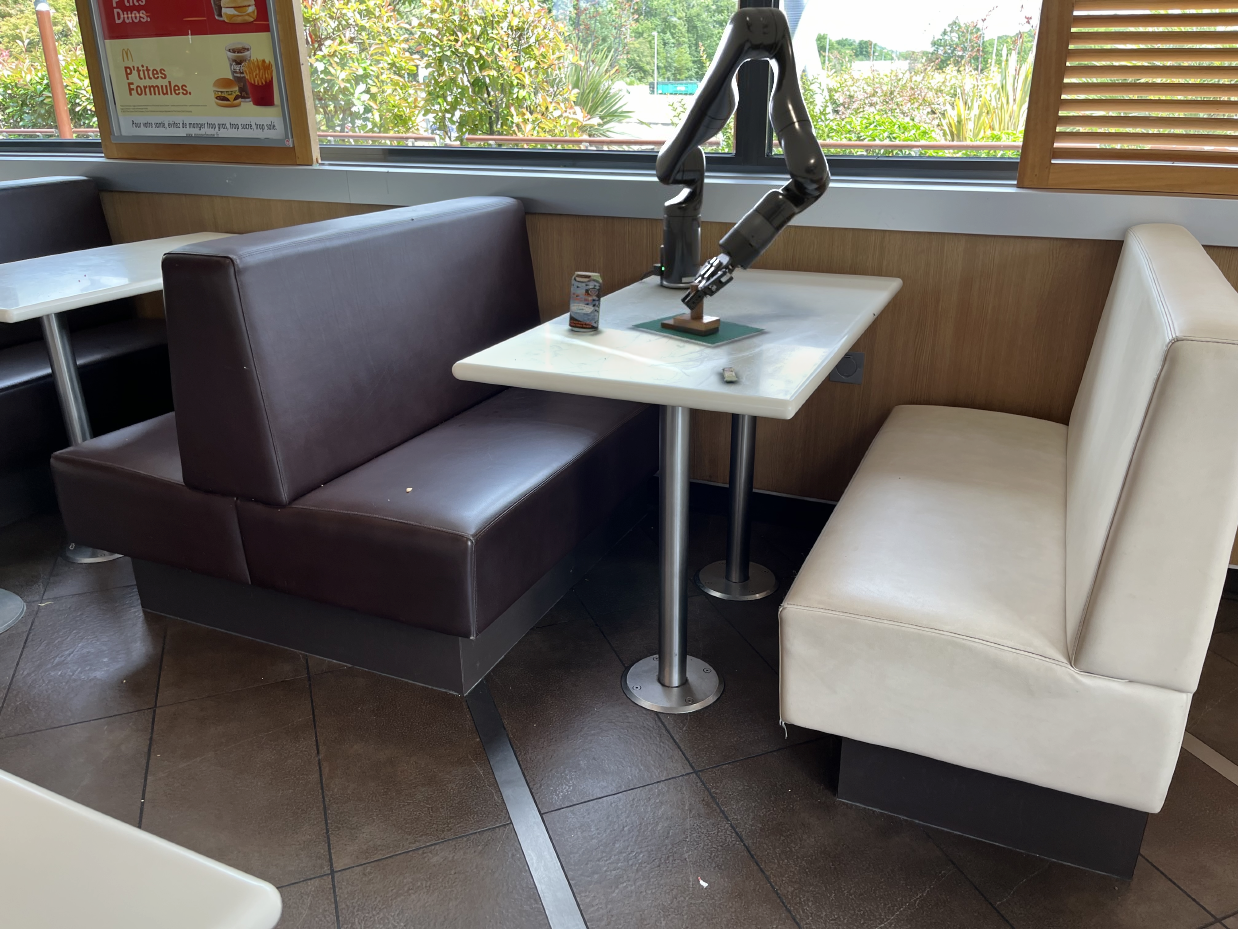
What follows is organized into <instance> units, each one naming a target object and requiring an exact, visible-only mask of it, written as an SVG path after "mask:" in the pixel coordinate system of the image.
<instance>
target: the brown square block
mask: <svg viewBox="0 0 1238 929" xmlns="http://www.w3.org/2000/svg"><path fill="white" fill-rule="evenodd" d="M661 328H666V329H670V330H675V325H673V319H670V320H666V321H662V322H661Z"/></svg>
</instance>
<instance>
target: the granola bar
mask: <svg viewBox="0 0 1238 929" xmlns="http://www.w3.org/2000/svg"><path fill="white" fill-rule="evenodd" d="M734 370H735V368H733V367H730V366H728V367H727V366H725V367H722V368H721V371H722V374H723V377H724V379H723V380H724V381H725V382H737V381H738V380H739V379H738V378H737V376H736V373H735V371H734Z"/></svg>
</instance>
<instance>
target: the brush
mask: <svg viewBox="0 0 1238 929" xmlns="http://www.w3.org/2000/svg"><path fill="white" fill-rule="evenodd" d="M700 285H701V283H700V282H695V283H691V284H690V288H689V290H690V295H691V294H692V293H693V292H694V291H695V290H696V289H697V288H698V287H699V286H700ZM697 290H698V289H697ZM704 299H705V298H704ZM704 299H703V300H702V301H701V302H700V303H699V304H698V305H697V306H696V307H695V308H694V310H690V309H689V312H686V313H687V314H684V315H680V316H676V317H673V325H675V331H679V332H684V333H689V334H694V335H700V336H707V335H710V334H714V333H717V332H719V326H720V321H722V320H721V319H722V318H721V317H716V316H710V315H705V314H704V304H705V303H704V301H705V300H704Z"/></svg>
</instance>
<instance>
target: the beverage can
mask: <svg viewBox="0 0 1238 929" xmlns="http://www.w3.org/2000/svg"><path fill="white" fill-rule="evenodd" d="M602 286H603V280H602V278H601V276H600V273H597V272H596V273H595V272H588V271H586V272H585V271H575V272H574V275H573V276H572V278H571V287H570V301H569V314H568V327H569V328H571V330H572V331H574V332H582V333H590V332H594V331H595V330H598V329H599V327H600V326H599V325H600V316H601V315H600V313H601V299H602V288H603V287H602Z"/></svg>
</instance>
